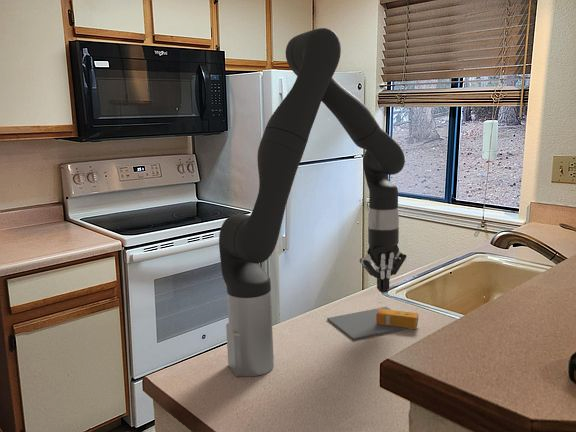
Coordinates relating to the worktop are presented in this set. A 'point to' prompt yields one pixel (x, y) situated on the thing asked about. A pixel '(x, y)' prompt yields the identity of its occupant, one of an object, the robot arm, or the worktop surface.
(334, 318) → the mat
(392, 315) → the supplement box
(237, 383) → the worktop surface
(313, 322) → the worktop surface
